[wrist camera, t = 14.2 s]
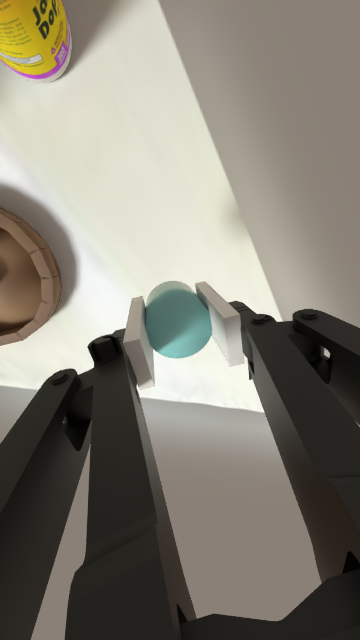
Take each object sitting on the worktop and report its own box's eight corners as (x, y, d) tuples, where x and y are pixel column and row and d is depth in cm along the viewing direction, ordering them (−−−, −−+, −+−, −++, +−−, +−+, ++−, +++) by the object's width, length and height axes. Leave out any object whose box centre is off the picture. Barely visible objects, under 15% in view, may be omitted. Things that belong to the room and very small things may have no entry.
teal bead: (139, 288, 16) (137, 306, 12) (193, 275, 16) (207, 289, 12) (153, 336, 17) (155, 365, 14) (202, 324, 18) (216, 349, 14)
